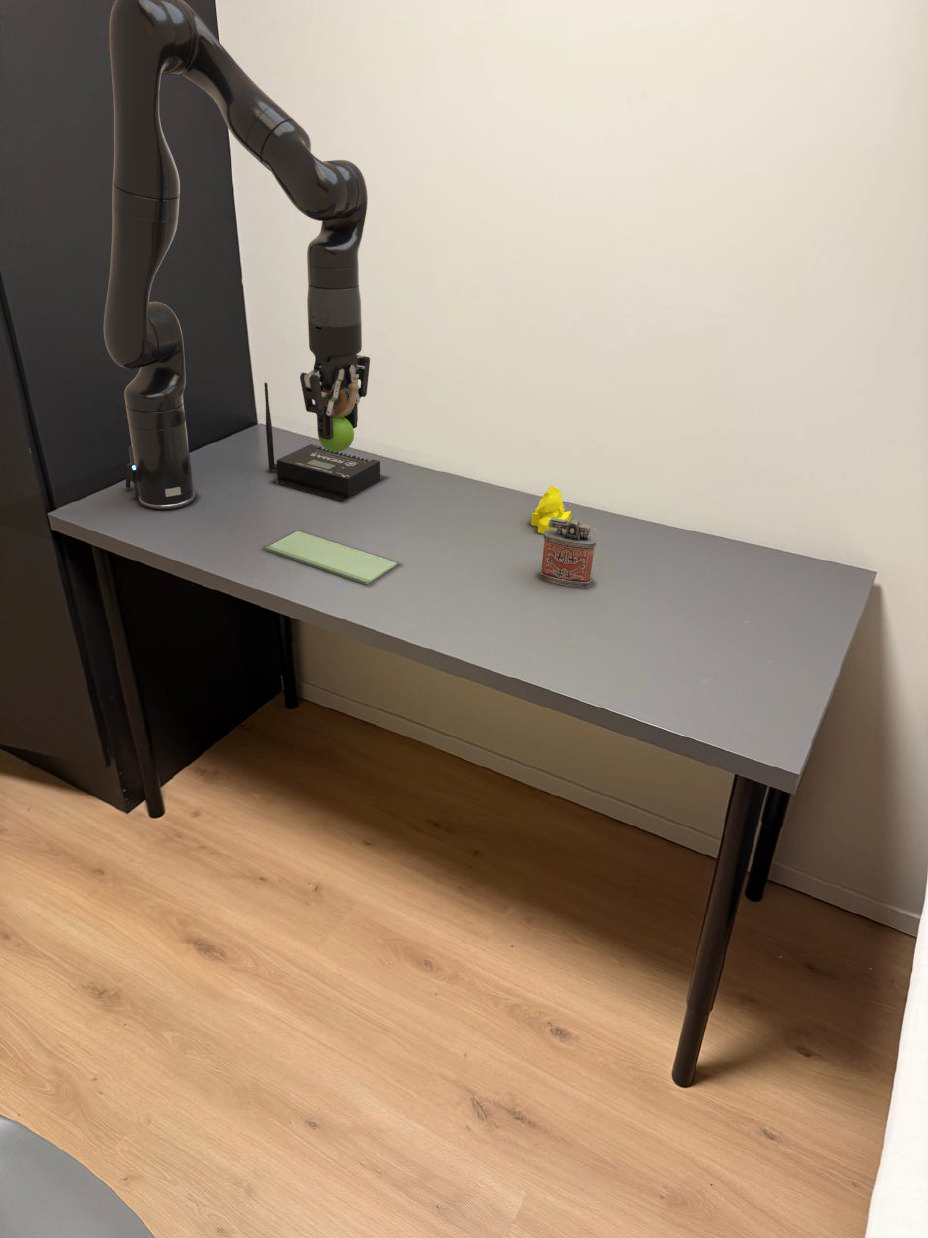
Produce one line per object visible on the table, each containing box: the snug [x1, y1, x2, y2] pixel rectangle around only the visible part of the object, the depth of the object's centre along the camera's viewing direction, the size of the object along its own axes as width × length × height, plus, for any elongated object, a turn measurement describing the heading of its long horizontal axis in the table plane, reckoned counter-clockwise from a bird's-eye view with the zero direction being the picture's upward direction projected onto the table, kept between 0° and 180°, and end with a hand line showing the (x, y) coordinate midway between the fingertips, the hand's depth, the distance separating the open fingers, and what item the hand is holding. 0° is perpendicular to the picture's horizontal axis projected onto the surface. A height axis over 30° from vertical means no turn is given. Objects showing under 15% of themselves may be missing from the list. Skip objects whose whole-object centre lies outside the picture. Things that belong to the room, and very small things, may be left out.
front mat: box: [264, 530, 398, 586], centre depth 146 cm, size 20×8×1 cm, turn 59°
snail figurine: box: [317, 374, 360, 453], centre depth 137 cm, size 5×6×12 cm
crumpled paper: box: [530, 485, 572, 535], centre depth 158 cm, size 6×8×8 cm
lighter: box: [539, 518, 597, 589], centre depth 140 cm, size 8×3×10 cm, turn 71°
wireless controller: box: [263, 382, 385, 503], centre depth 169 cm, size 20×14×17 cm
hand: (338, 432), depth 139 cm, fingers closed on snail figurine, 5 cm apart
